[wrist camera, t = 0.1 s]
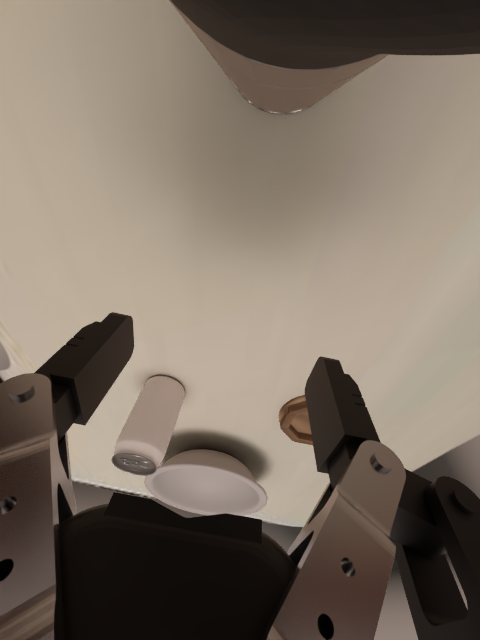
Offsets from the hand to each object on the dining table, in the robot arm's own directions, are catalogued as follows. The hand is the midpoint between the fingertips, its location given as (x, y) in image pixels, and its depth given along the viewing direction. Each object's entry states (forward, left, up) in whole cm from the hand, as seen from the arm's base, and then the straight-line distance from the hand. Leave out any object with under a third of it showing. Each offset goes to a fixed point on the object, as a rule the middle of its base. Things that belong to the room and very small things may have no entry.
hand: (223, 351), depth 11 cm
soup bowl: (+50, +2, -18) cm, 53 cm away
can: (+28, -8, -18) cm, 34 cm away
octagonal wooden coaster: (+28, +17, -17) cm, 37 cm away
